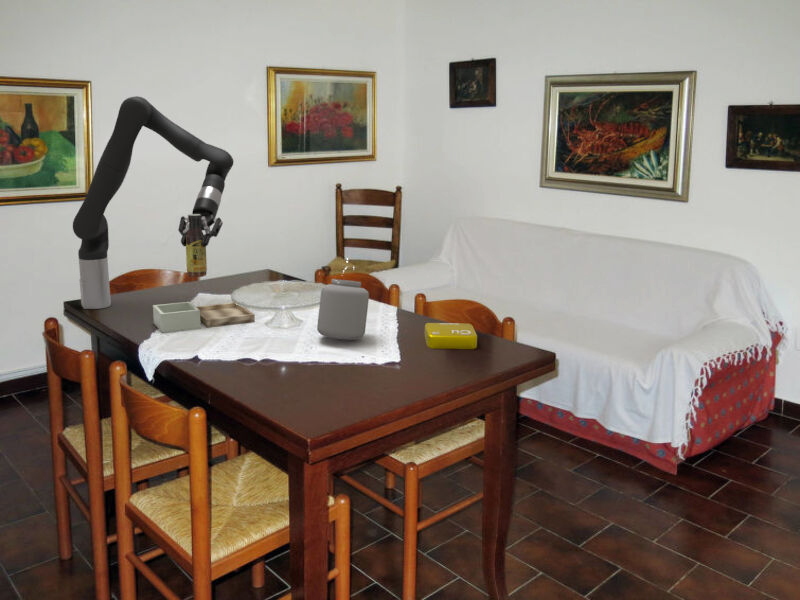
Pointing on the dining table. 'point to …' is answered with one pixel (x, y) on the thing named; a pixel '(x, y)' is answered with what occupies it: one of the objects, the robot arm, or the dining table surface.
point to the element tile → (450, 336)
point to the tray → (224, 315)
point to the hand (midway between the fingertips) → (193, 245)
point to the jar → (343, 310)
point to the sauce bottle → (195, 248)
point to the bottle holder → (176, 317)
